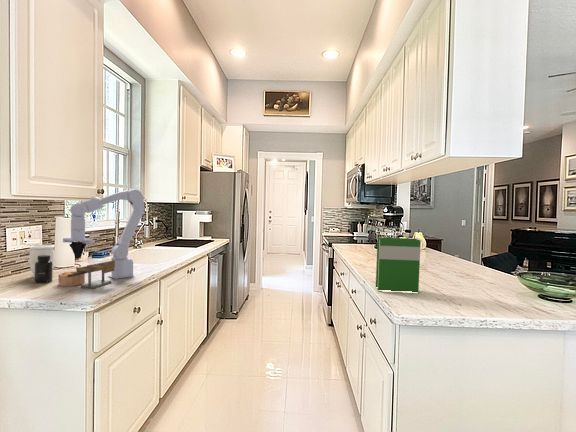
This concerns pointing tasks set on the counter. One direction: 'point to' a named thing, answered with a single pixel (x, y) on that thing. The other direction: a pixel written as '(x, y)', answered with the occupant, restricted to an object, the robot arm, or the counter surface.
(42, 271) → the supplement bottle
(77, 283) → the cup
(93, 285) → the trough stand
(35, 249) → the white tapered cylinder
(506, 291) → the counter surface
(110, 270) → the brown tray
